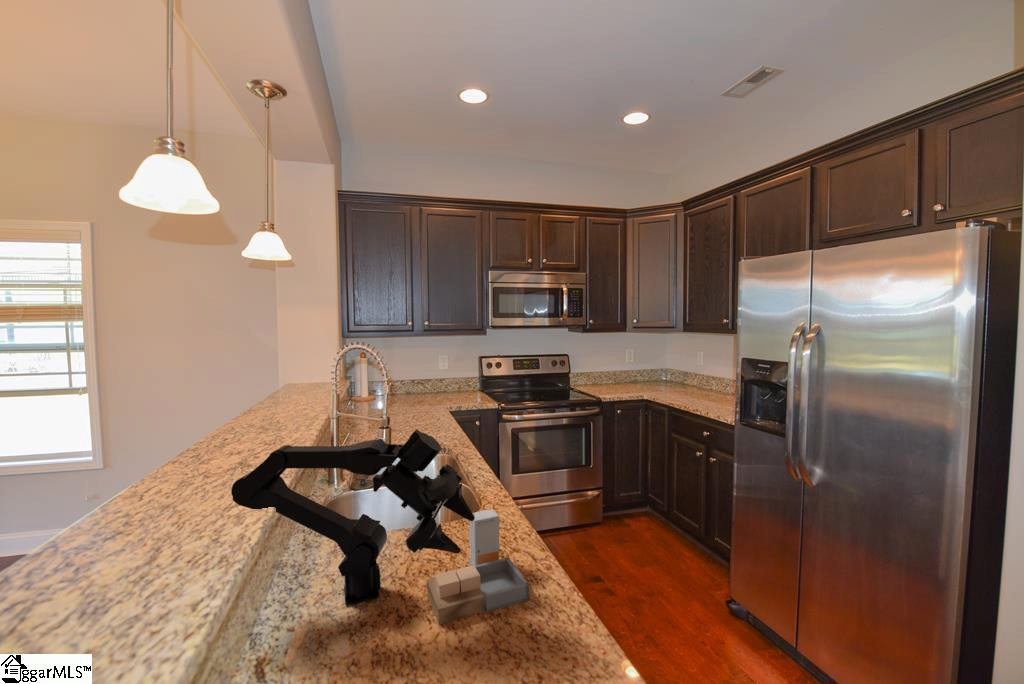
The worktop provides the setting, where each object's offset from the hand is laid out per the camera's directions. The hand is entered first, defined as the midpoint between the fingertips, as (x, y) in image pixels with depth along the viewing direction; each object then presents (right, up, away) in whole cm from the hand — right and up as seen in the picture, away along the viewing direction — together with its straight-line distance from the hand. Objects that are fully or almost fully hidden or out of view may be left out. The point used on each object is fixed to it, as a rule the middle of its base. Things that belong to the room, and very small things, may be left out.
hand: (466, 535), depth 90 cm
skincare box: (+3, -12, +10) cm, 16 cm away
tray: (+6, -12, +1) cm, 14 cm away
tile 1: (-4, -9, -4) cm, 11 cm away
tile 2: (0, -9, -2) cm, 9 cm away
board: (-2, -12, -3) cm, 13 cm away
